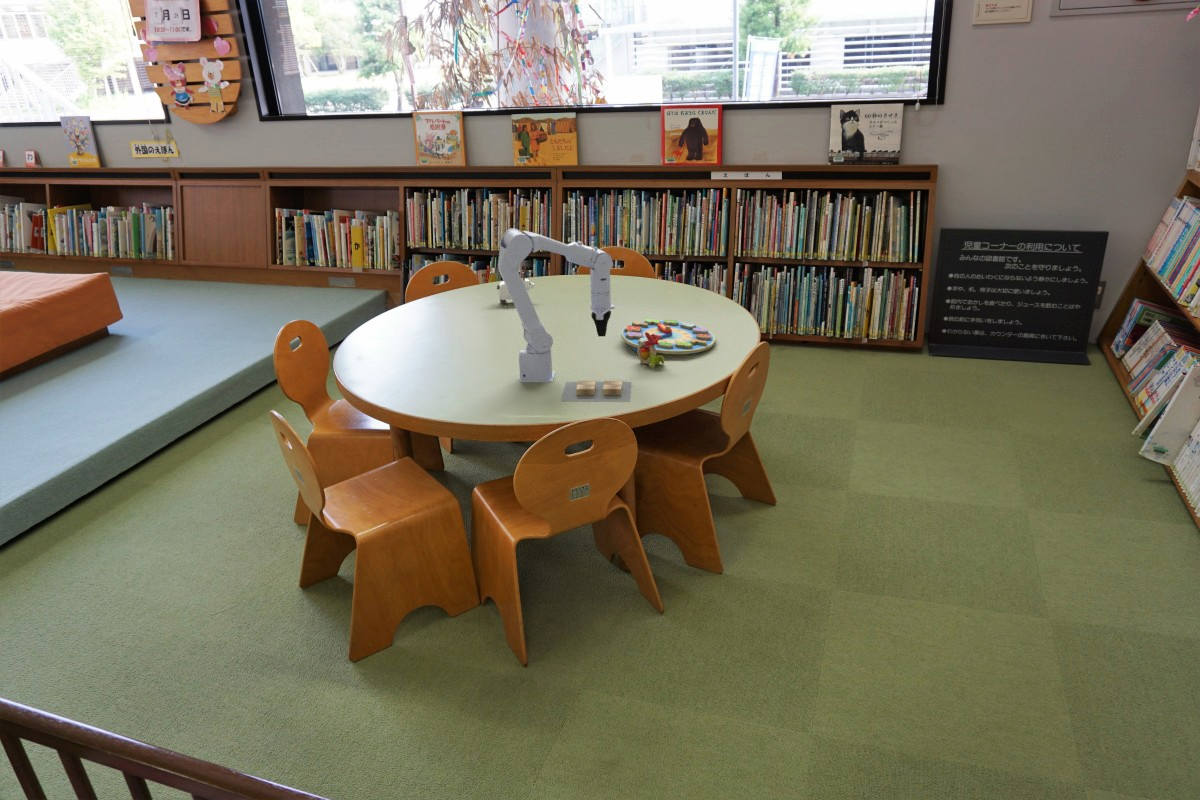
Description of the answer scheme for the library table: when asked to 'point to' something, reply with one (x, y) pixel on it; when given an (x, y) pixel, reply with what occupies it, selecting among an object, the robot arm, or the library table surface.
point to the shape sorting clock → (669, 336)
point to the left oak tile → (586, 388)
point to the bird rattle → (649, 350)
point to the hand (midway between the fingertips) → (601, 335)
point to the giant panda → (505, 294)
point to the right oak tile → (612, 388)
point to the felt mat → (570, 393)
